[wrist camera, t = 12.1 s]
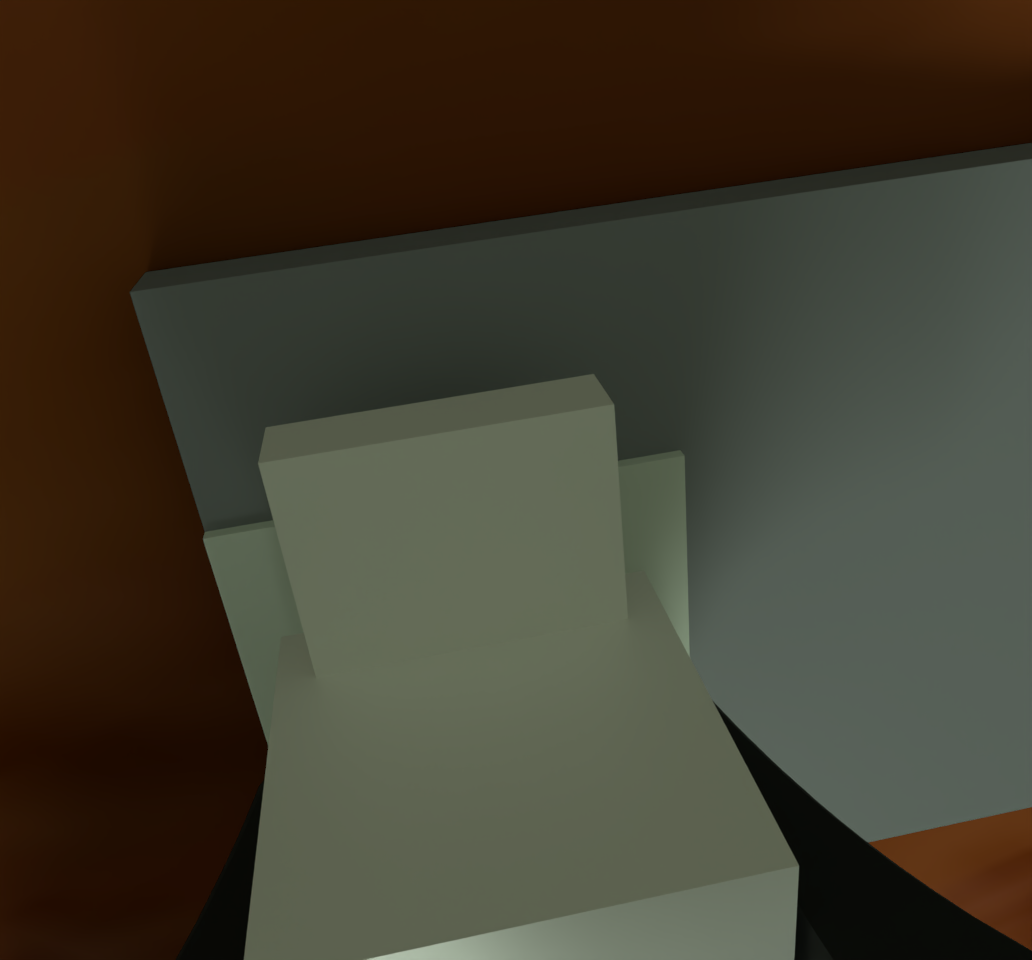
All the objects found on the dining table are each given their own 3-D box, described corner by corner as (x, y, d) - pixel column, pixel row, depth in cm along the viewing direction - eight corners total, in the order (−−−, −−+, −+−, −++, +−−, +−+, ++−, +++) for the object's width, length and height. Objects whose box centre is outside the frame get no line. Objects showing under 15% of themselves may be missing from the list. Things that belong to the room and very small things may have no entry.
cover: (657, 825, 15) (784, 1161, 11) (353, 888, 15) (352, 1268, 10) (633, 367, 11) (813, 593, 7) (222, 434, 11) (134, 720, 6)
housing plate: (1289, 710, 20) (1379, 776, 18) (338, 911, 18) (336, 1006, 17) (1529, 70, 14) (1696, 78, 12) (145, 272, 12) (110, 315, 11)
